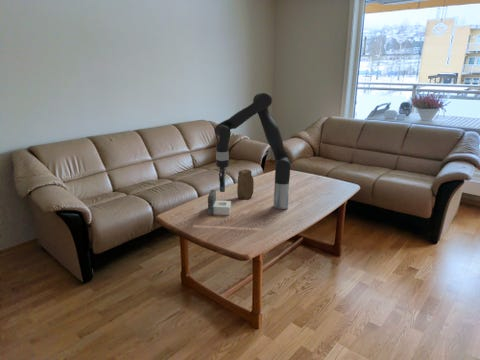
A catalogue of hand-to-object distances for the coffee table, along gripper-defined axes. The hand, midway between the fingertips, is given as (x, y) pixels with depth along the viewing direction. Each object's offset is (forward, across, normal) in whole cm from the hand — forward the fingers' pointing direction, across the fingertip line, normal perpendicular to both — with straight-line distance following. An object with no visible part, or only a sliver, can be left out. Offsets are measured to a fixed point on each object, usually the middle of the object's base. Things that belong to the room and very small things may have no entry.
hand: (222, 185), depth 209 cm
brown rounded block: (+19, -28, +13) cm, 36 cm away
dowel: (+4, 0, 0) cm, 4 cm away
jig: (+19, 0, +2) cm, 19 cm away
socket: (+17, 0, 0) cm, 17 cm away
